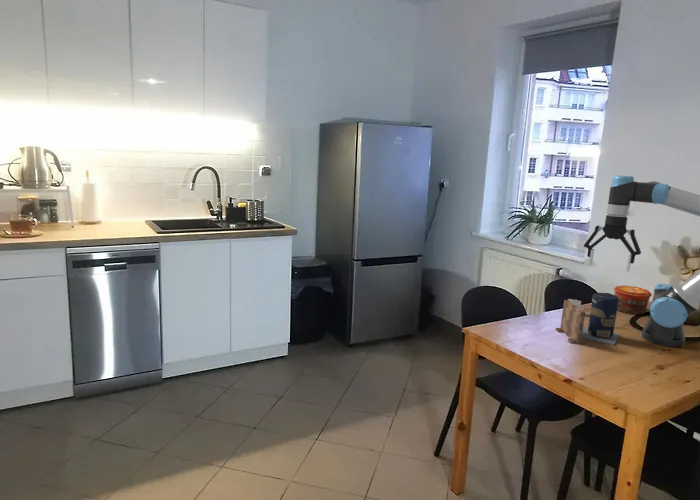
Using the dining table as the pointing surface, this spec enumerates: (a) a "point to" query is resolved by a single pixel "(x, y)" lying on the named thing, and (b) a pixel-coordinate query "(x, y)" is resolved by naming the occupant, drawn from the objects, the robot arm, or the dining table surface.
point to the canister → (603, 314)
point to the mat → (608, 340)
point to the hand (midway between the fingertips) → (608, 268)
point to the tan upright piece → (572, 322)
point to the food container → (632, 299)
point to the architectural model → (576, 303)
